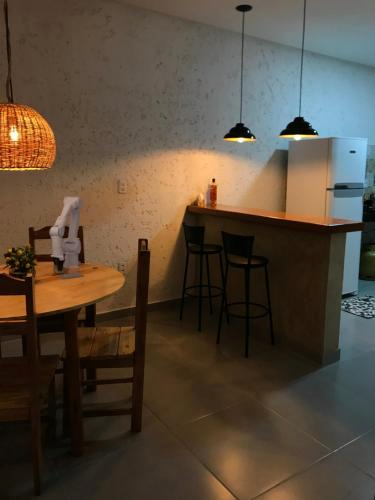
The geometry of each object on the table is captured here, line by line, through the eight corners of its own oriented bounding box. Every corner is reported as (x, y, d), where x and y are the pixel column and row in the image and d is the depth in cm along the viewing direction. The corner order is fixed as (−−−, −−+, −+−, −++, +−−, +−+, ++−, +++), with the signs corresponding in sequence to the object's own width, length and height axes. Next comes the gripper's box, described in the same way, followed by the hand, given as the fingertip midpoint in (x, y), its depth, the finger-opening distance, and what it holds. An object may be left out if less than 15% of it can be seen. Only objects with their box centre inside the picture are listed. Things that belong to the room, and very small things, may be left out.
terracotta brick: (67, 273, 242) (67, 266, 241) (75, 272, 245) (75, 265, 244) (70, 274, 239) (70, 268, 238) (78, 273, 241) (77, 267, 240)
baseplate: (58, 276, 234) (58, 275, 233) (79, 273, 240) (79, 272, 240) (62, 279, 228) (62, 278, 228) (83, 276, 235) (83, 275, 234)
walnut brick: (53, 272, 240) (53, 265, 240) (61, 271, 243) (61, 264, 242) (56, 273, 237) (55, 267, 236) (63, 272, 239) (63, 266, 238)
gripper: (46, 245, 240) (48, 268, 243) (54, 250, 229) (55, 273, 231) (58, 244, 244) (60, 266, 247) (66, 248, 233) (67, 271, 235)
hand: (58, 269), depth 240 cm, fingers closed on walnut brick, 5 cm apart
